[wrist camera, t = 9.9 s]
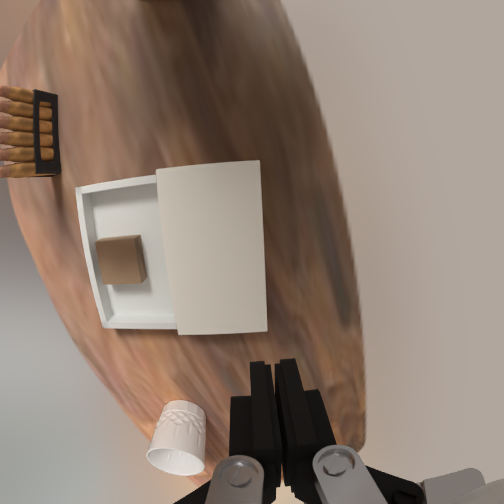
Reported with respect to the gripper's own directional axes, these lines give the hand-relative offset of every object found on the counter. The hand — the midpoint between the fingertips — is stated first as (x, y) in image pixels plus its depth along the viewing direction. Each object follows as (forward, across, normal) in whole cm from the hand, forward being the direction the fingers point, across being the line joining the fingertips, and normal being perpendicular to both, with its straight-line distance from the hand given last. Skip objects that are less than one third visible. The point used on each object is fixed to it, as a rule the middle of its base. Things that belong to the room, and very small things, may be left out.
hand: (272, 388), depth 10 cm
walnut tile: (+20, +15, 0) cm, 24 cm away
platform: (+22, +4, 0) cm, 22 cm away
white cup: (+22, +12, +26) cm, 36 cm away
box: (+22, +14, 0) cm, 26 cm away
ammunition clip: (+22, +24, -16) cm, 36 cm away
